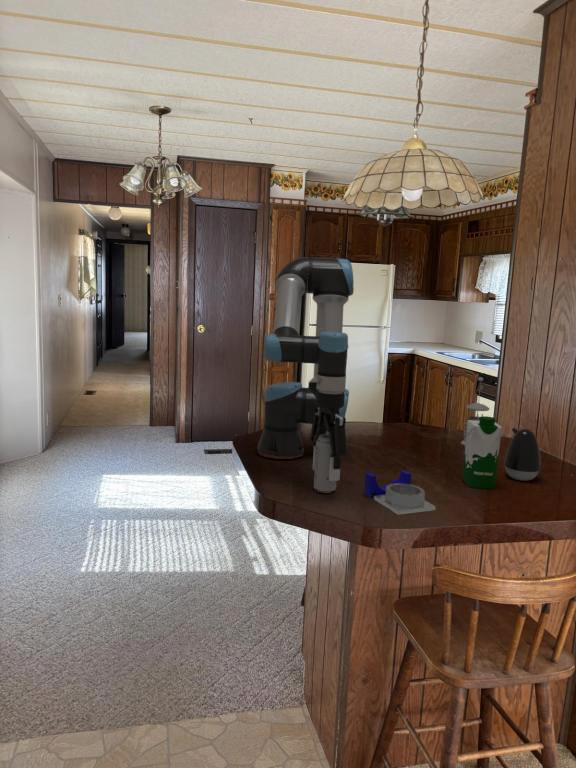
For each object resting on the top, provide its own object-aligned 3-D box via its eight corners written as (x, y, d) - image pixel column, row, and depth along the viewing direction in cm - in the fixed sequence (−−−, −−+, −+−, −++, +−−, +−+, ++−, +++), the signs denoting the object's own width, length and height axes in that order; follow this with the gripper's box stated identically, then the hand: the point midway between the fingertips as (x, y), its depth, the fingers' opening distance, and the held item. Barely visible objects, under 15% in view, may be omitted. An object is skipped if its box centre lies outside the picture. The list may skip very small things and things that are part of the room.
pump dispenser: (520, 471, 180) (526, 424, 178) (546, 482, 170) (552, 432, 168) (494, 474, 176) (499, 425, 174) (519, 484, 167) (525, 433, 164)
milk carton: (467, 488, 161) (474, 418, 158) (458, 478, 170) (465, 412, 167) (498, 490, 161) (506, 420, 158) (488, 479, 170) (495, 413, 167)
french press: (485, 441, 216) (492, 376, 213) (492, 449, 205) (499, 380, 201) (458, 439, 218) (464, 374, 214) (463, 447, 206) (470, 378, 202)
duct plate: (374, 499, 149) (375, 484, 148) (409, 495, 153) (410, 480, 153) (398, 514, 139) (399, 499, 138) (435, 510, 143) (436, 494, 143)
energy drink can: (330, 496, 150) (334, 440, 148) (309, 491, 152) (312, 436, 150) (339, 489, 155) (342, 435, 153) (318, 485, 158) (321, 432, 155)
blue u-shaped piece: (401, 489, 158) (403, 468, 157) (409, 495, 154) (411, 473, 153) (361, 492, 154) (363, 471, 153) (369, 498, 150) (370, 476, 149)
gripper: (300, 385, 158) (296, 464, 161) (337, 399, 138) (332, 489, 142) (324, 384, 161) (320, 462, 164) (364, 398, 141) (358, 486, 145)
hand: (325, 474), depth 153 cm, fingers open, 9 cm apart
